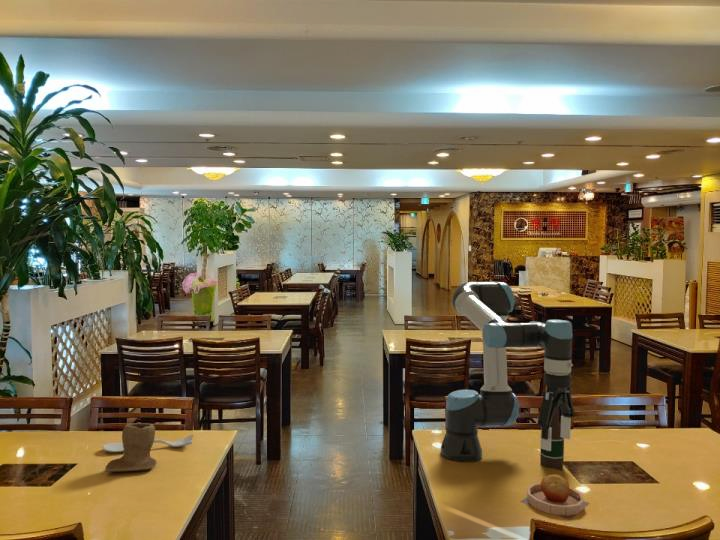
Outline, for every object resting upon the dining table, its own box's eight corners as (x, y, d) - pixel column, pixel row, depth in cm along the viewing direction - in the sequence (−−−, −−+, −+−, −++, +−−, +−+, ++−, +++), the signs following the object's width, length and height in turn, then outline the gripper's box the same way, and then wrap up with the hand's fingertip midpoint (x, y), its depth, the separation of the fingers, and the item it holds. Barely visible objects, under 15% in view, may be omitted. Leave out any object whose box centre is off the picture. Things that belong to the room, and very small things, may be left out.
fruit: (568, 488, 159) (569, 471, 155) (569, 511, 153) (570, 494, 149) (540, 484, 162) (540, 467, 158) (540, 507, 155) (540, 490, 151)
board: (520, 504, 155) (520, 501, 155) (540, 490, 165) (541, 487, 165) (570, 523, 144) (570, 519, 144) (589, 506, 155) (589, 503, 155)
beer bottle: (565, 472, 179) (567, 403, 178) (541, 470, 180) (543, 401, 180) (561, 463, 187) (562, 397, 186) (538, 461, 188) (540, 396, 188)
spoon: (191, 450, 196) (192, 441, 196) (99, 456, 188) (99, 447, 188) (193, 442, 205) (193, 433, 204) (105, 447, 197) (105, 438, 197)
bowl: (517, 502, 154) (518, 493, 154) (541, 486, 166) (541, 478, 166) (570, 521, 144) (570, 512, 144) (591, 502, 155) (591, 494, 155)
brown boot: (159, 459, 186) (159, 418, 185) (153, 473, 174) (153, 429, 174) (113, 462, 182) (113, 420, 182) (104, 476, 171) (104, 431, 170)
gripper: (551, 381, 142) (550, 458, 143) (586, 368, 160) (584, 436, 161) (526, 377, 147) (524, 451, 148) (562, 364, 165) (560, 430, 166)
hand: (555, 443), depth 154 cm, fingers open, 13 cm apart
